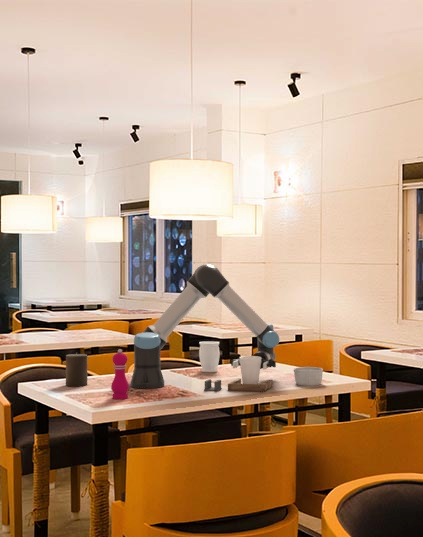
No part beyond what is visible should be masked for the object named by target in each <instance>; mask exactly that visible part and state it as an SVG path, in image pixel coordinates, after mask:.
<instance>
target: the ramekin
mask: <svg viewBox="0 0 423 537" xmlns="http://www.w3.org/2000/svg"><path fill="white" fill-rule="evenodd" d="M323 372H324V369H323V368H322V367H315V366H300V367H295V368H293V374H294V381H295V383H296V385H297V386H307V387H314V386H320V385H321V384H322V382H323Z"/></svg>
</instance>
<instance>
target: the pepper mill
mask: <svg viewBox="0 0 423 537" xmlns="http://www.w3.org/2000/svg"><path fill="white" fill-rule="evenodd" d="M127 362H128V355H126V354H125V353H124V352H123V349H122V348H118V350H117V353H114V355H113V356H112V363H113V369H114V372H115V373H114V378H113V380H112V383H111V385H110V386H111V388H110V389H111V391H112V399H113V400H127V399H129V394H128V393H127V392H128V391H129V389H130V385H129V381H128V379H127V377H126V369H127V364H126V363H127Z"/></svg>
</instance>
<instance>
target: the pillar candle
mask: <svg viewBox="0 0 423 537" xmlns="http://www.w3.org/2000/svg"><path fill="white" fill-rule="evenodd" d="M65 386H66V387H71V388H72V387H73V388H74V387H77V388H78V387H87V386H88V354H85V353H82V354H81V353H78V352H75V353H73V354H66V355H65Z"/></svg>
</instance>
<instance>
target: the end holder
mask: <svg viewBox="0 0 423 537" xmlns="http://www.w3.org/2000/svg"><path fill="white" fill-rule="evenodd" d="M273 384H274V383H273V379H268V380H266V381H265V382H263V383H261V384H259V383H258V384H243V383H242V378H236V379H234V380H232V381H230V382H228V383H227V391H228V392H245V393H246V392H247V393H265V392H267V391H269V390H270V389H271V388H273V387H274V386H273Z"/></svg>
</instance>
